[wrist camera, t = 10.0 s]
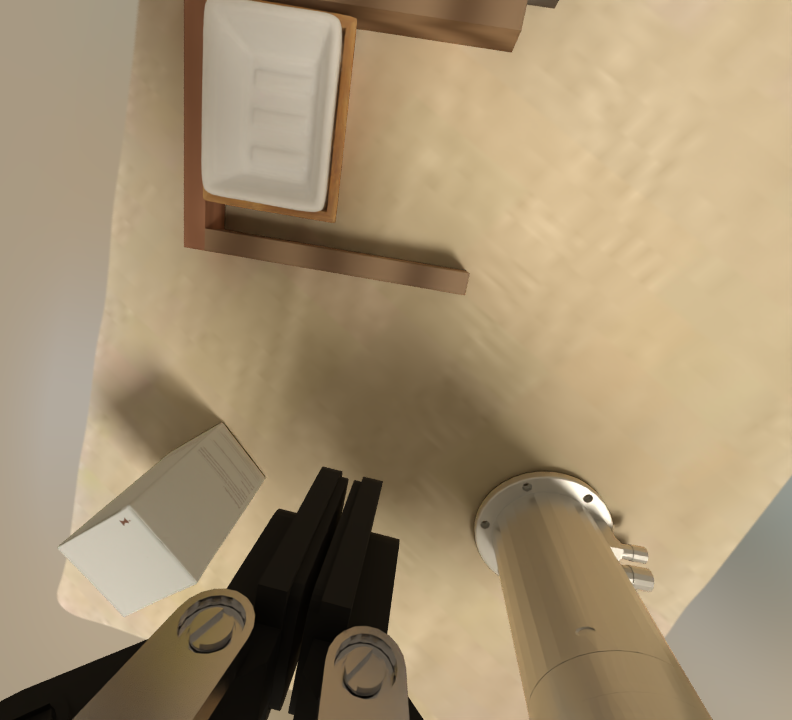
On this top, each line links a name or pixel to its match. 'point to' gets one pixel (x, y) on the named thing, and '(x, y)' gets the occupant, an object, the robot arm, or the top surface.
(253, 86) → the soap dish
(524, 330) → the top surface
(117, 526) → the supplement box
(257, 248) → the bay
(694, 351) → the top surface
